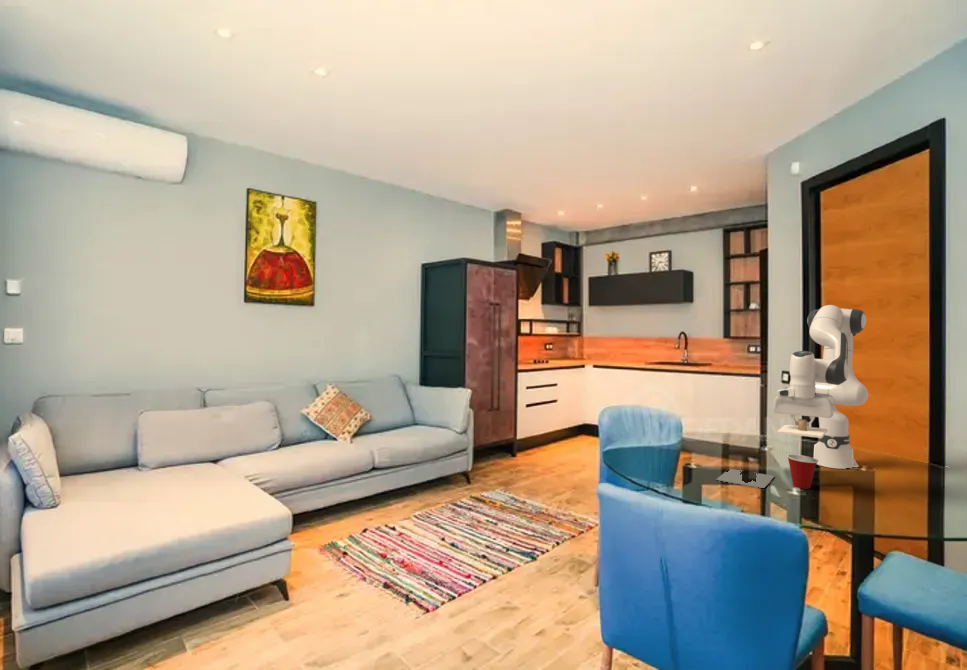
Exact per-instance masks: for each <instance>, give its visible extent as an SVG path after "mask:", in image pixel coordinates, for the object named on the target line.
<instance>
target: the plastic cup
mask: <svg viewBox="0 0 967 670" xmlns="http://www.w3.org/2000/svg"><path fill="white" fill-rule="evenodd" d="M786 457H787V459H788V464H789V465H788V466H789V469H790V470H789V471H790V477H791V480H792V485H793V487H795V488H796V489H802V490H803V489H804V490H805V489H806V490H808V489H811V485H812V481H813V477H814V473H815V469H816V466H817V465H818V464H817V462H818V460H817V459H815V458H813V457H812V456H808V455H803V454H792V453H790V454H787V455H786Z"/></svg>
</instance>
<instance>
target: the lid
mask: <svg viewBox="0 0 967 670" xmlns="http://www.w3.org/2000/svg"><path fill="white" fill-rule="evenodd" d="M797 421H798V426H794V424H793V425H792V424H784V425H783V426H781V427H780V428H779V429H778V430H777V431H776V432H777V434H783V435H784V434H785V435H791V436H798V437H799V436H801V437H809V438H817V439H818V438H823V436H824V435H825V433H826V432H827V429H823V428H819V427H813V426H811V428H809V427H806V426H807V425H806V423H807V422H808V420H807V419H803V418H802V419H797Z"/></svg>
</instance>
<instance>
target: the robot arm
mask: <svg viewBox="0 0 967 670" xmlns="http://www.w3.org/2000/svg"><path fill="white" fill-rule="evenodd" d="M806 321H807V325H808V329H809V333H808V334H809V336H810V338H811V339H812V340H813V341H814V342H815V343H816V344H819V345H820V346H823V353H822V358H815V354H814V353H813V352H812V351H808V350H799V351H794V352H793V353H791V357H790V360H789V361H790V363H789V376H790V381H789V387H784V388H780V389H778V390H777V391H776V397H775V398H774V400H773V408H772V409H773V410H772V411H773V412H774V413H775V414H780V415H782V414H783V415H790V419H791V420H792V422H793V425H794V426H798V420H796V416H803V417H809V420H810V421H809V422H808V421H807V423H806V425H807V426H806V427H809V428H811V427H812V423H813V422H814V420H815V419H816V418H818V425H819V427H818V428H823V429H827V432H826V433H825V435H824V436H823V438H817V440H818V441H817V442H816V443H815V444H814V445H813V446H814V447H813V457H812V458H815V459H817V460H818V462H817V464H816V465H818V466H822V467H826V468H830V469H831V468H832V469H839V470H847V469H846V468H850V469H853V468H852V467H859V468H860V466H859V464H858V463H857V461H856V459H855V456H854V449H853V448H852V447H851V445H850V443H851V442H850V441H851V438H850V435H849V419H848V417H847V416H846V415H845V414H844V413H842V412H841V411H839V410H838V409H837V408H836V405H837V406H838V405H839V406H847V407H854V406H855V407H856V406H862V405H864V404H865V403H866V402H867V401H868V399H869V392H868V389H867V387H866V386H865V384H863V383H862V382H861V381H860V380H858V378H857V377H856V376H855V373H854V371H853V352H854V338H853V337H856V336H857V334H860V333H861V332H862V331H863V330H864V329H865V326H866V324H867V317H866V313H865V312H864V311H863V310H862V309H858V308H853V309H850V308H842V307H841V308H840V306H839V307H838V305H834V304H827V305H823V306H822V307H820V308H818V309H813V310H812V311H810V312H809V314H808V316H807V320H806Z"/></svg>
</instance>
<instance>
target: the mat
mask: <svg viewBox="0 0 967 670" xmlns="http://www.w3.org/2000/svg"><path fill="white" fill-rule="evenodd" d="M729 469H730V470H729V471H728V472H726V471H724V472H723V473H722V474H721V475H719V476H718V477H717V478H716V479H715V481H716V480H719V481H718V482H720V481H723V482H722V483H725V482H728V483H727V484H731V483H733V484H732V485H736V484H741V485H740V486H742V485H748V486H751V487H750V488H753V487H759V488H765V487H766V486H767V485H768V484H770V483H771V482H772V481H773V480H774V479H775V478H774V477H776V475H772V474H771V475H770V474H765V473H758V472H755V473H756V476H757V477H756V482H755V481H753V480H752V481H751V482H748V483H745V482H744V481H742V474H741V475H740V473H741V472H742V471H743V470H741V469H740V470H739V469H734V468H729ZM740 471H741V472H740ZM757 473H758V474H757ZM773 478H774V479H773ZM772 479H773V480H772ZM771 480H772V481H771ZM770 481H771V482H770ZM768 486H769V485H768ZM768 486H767V487H768ZM767 487H766V488H767ZM766 488H765V489H766Z"/></svg>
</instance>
